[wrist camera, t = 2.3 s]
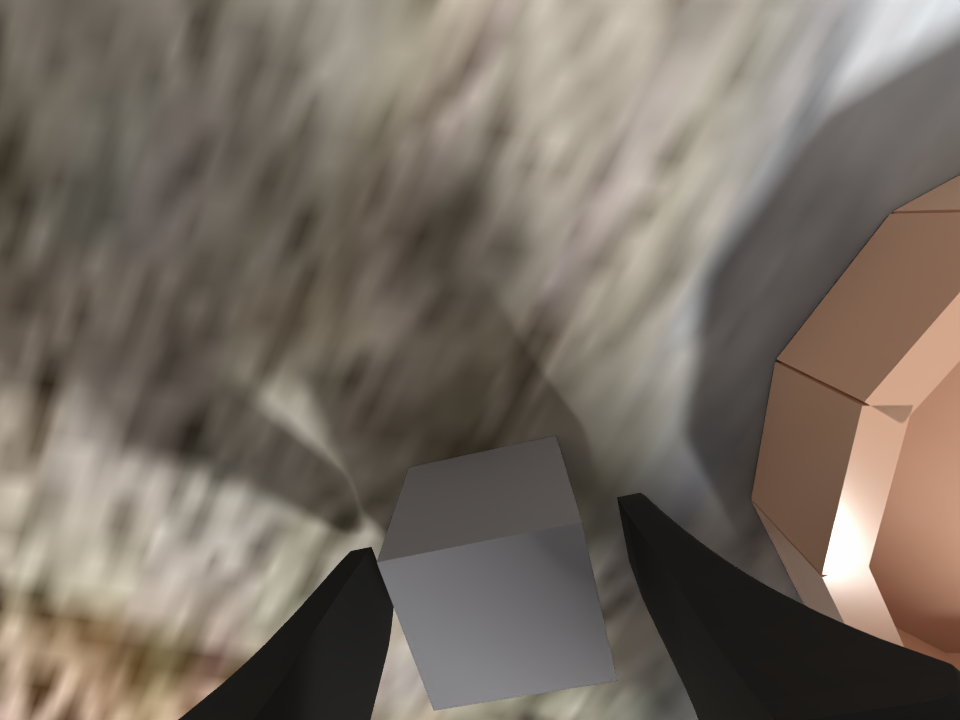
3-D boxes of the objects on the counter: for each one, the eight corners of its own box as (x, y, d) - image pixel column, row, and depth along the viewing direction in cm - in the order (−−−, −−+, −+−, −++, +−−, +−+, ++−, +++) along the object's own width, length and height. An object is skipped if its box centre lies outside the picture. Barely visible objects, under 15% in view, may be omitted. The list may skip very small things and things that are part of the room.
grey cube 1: (555, 433, 13) (581, 521, 9) (583, 557, 14) (617, 681, 10) (409, 465, 14) (376, 562, 10) (449, 583, 15) (433, 710, 11)
